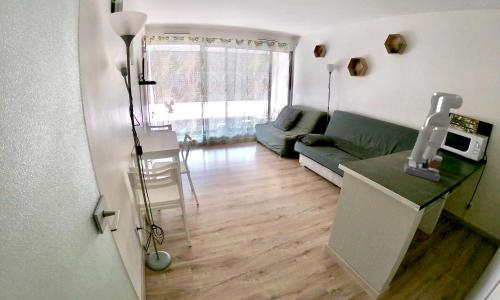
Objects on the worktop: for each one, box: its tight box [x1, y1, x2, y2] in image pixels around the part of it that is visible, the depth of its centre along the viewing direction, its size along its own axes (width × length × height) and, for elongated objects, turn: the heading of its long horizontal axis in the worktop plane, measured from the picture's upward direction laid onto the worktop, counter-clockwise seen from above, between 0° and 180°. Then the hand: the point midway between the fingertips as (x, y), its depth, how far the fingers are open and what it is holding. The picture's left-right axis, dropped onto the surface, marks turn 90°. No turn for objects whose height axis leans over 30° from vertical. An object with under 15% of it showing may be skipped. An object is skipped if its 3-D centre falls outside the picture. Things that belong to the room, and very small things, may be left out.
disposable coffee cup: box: [427, 154, 443, 170], centre depth 183 cm, size 10×10×12 cm
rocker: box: [408, 159, 417, 169], centre depth 175 cm, size 9×4×1 cm, turn 150°
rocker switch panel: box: [403, 162, 442, 182], centre depth 175 cm, size 18×21×4 cm
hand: (424, 168), depth 168 cm, fingers closed
